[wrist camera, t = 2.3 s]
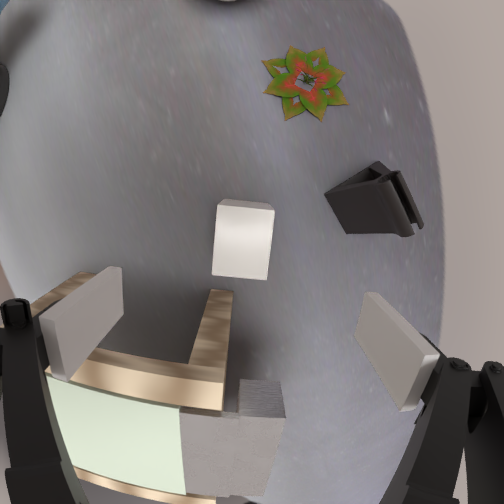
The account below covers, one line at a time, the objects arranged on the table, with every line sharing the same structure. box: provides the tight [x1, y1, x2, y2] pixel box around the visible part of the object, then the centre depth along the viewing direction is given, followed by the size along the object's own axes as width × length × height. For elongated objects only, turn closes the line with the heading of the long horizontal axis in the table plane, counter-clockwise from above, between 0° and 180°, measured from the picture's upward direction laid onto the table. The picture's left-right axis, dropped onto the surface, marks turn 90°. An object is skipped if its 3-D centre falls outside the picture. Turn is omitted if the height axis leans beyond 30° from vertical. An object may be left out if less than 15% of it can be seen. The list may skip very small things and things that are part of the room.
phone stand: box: [325, 161, 424, 237], centre depth 31 cm, size 9×6×12 cm, turn 122°
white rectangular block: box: [212, 199, 275, 280], centre depth 34 cm, size 6×7×9 cm
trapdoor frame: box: [0, 272, 233, 504], centre depth 33 cm, size 23×23×20 cm
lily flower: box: [262, 45, 349, 122], centre depth 32 cm, size 12×12×5 cm
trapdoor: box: [45, 372, 286, 497], centre depth 26 cm, size 25×16×6 cm, turn 84°
